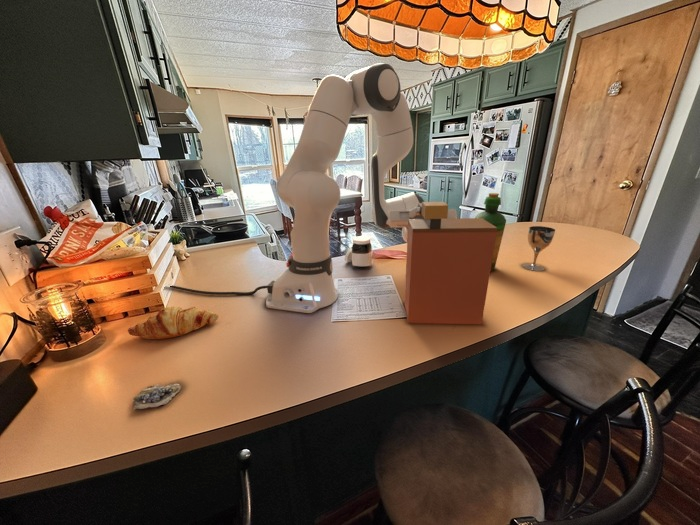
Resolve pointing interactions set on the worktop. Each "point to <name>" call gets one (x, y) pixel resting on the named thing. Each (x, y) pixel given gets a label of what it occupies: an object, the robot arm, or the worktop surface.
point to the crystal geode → (156, 396)
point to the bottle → (494, 221)
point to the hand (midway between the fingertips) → (425, 209)
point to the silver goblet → (539, 243)
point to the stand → (448, 270)
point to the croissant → (172, 323)
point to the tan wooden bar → (433, 213)
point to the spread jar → (360, 253)
